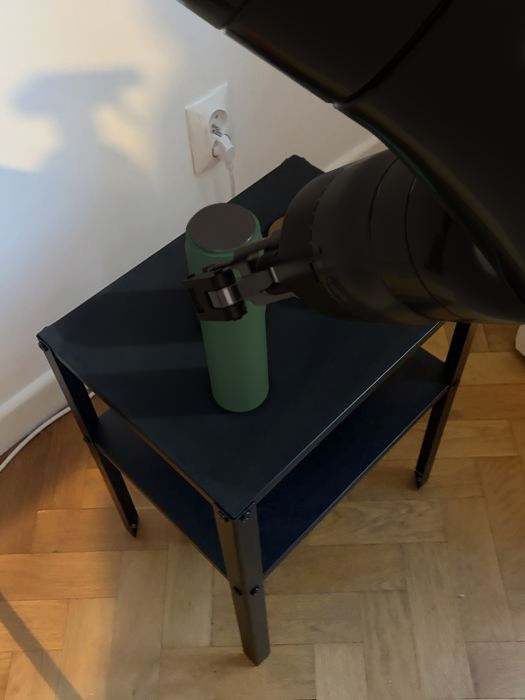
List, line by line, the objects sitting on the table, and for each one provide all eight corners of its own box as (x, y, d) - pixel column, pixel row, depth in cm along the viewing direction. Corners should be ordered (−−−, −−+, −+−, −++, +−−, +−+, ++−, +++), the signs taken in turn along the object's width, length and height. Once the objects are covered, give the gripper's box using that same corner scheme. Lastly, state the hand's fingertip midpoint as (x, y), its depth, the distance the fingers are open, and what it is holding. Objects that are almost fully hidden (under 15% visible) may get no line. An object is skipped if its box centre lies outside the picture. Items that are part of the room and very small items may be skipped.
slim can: (224, 420, 70) (200, 262, 52) (203, 376, 73) (173, 213, 55) (278, 399, 71) (272, 238, 53) (255, 357, 74) (242, 191, 56)
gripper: (491, 104, 33) (340, 163, 49) (217, 219, 30) (147, 244, 45) (539, 256, 35) (379, 267, 50) (285, 384, 31) (195, 354, 46)
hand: (269, 256), depth 48 cm, fingers open, 8 cm apart
